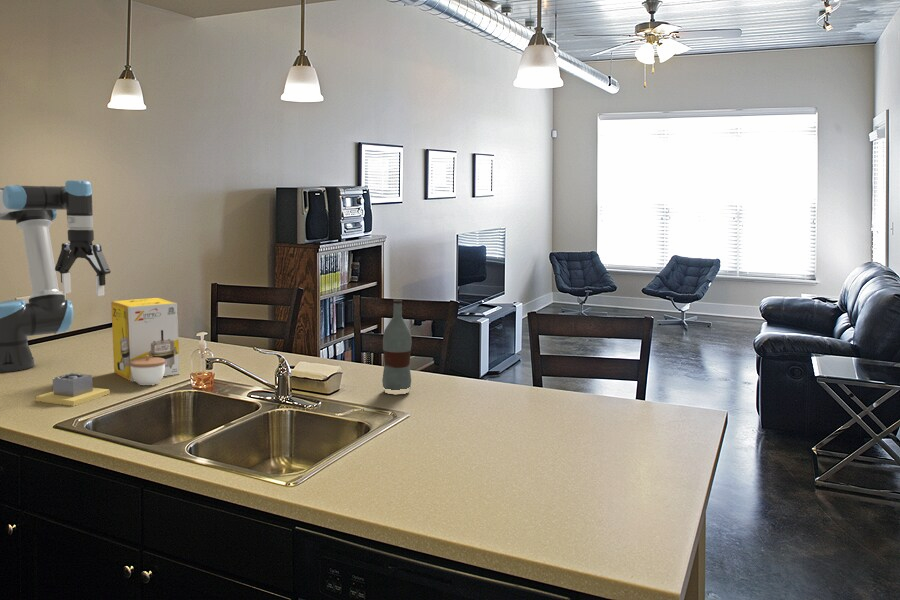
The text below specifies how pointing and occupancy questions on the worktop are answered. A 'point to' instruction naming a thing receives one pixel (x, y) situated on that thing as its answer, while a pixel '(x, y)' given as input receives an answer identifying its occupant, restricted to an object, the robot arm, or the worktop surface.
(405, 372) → the bottle
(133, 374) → the lidded jar
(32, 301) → the robot arm
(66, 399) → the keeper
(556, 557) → the worktop surface
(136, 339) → the packaging box
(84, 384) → the grey square hollow block
